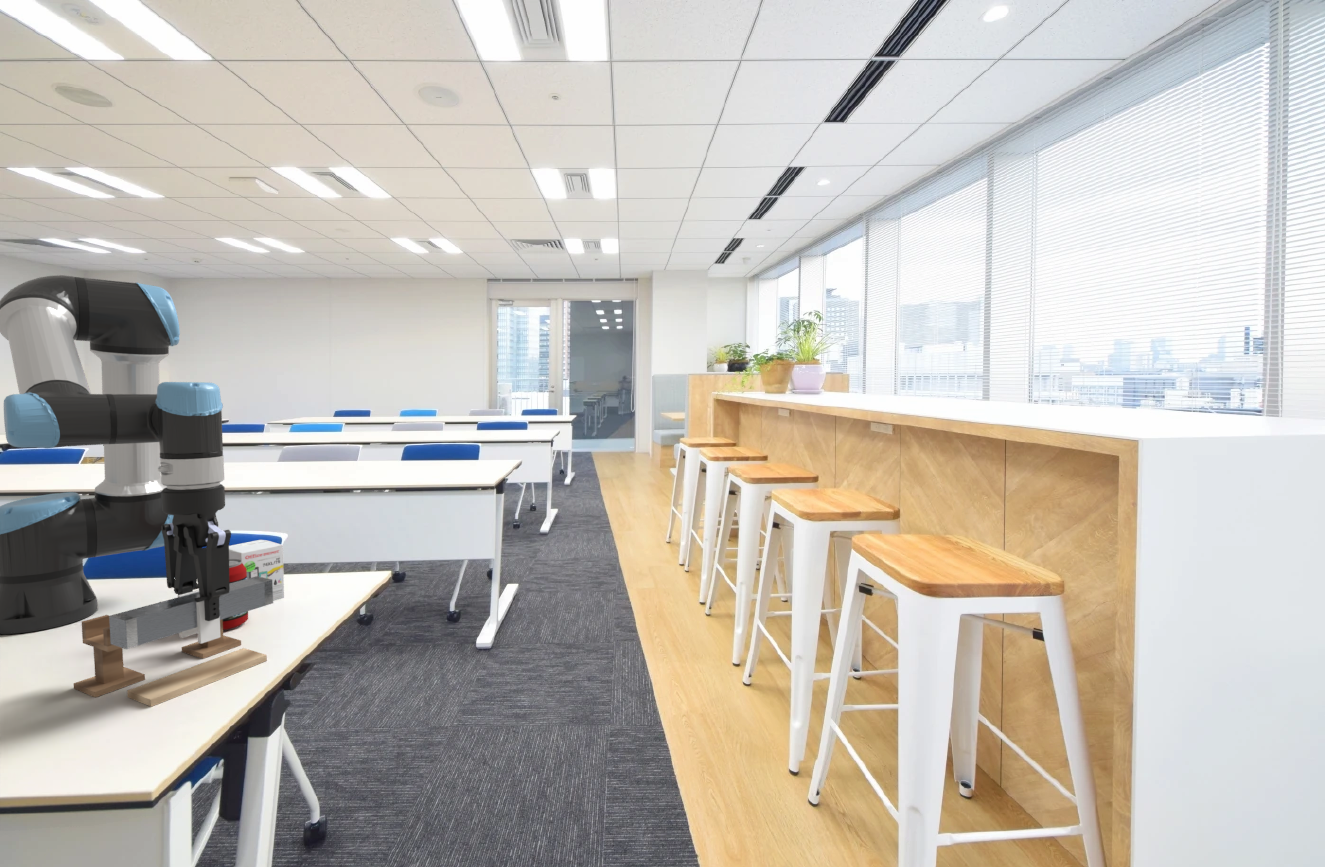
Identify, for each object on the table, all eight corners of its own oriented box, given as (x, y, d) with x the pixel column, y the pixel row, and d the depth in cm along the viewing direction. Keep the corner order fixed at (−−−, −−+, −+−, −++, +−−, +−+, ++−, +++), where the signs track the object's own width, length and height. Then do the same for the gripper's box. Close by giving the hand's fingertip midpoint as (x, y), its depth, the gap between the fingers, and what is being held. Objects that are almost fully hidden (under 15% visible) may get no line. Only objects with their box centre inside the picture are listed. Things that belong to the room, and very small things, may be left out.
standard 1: (71, 687, 89) (68, 625, 89) (121, 671, 95) (118, 611, 94) (97, 698, 87) (93, 633, 86) (146, 680, 92) (143, 619, 91)
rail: (110, 643, 84) (109, 615, 84) (257, 599, 102) (256, 576, 102) (126, 649, 82) (125, 620, 82) (273, 603, 101) (272, 579, 100)
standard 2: (179, 651, 102) (177, 596, 101) (218, 638, 108) (216, 585, 107) (204, 659, 99) (202, 602, 99) (243, 645, 105) (241, 591, 104)
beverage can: (225, 634, 109) (222, 569, 108) (194, 631, 110) (191, 566, 110) (257, 621, 116) (255, 559, 115) (227, 618, 117) (225, 556, 116)
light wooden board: (127, 697, 87) (127, 690, 87) (243, 653, 101) (243, 647, 101) (151, 706, 84) (150, 699, 84) (266, 660, 99) (266, 654, 99)
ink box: (241, 610, 121) (239, 552, 121) (219, 602, 126) (217, 546, 125) (285, 597, 129) (283, 543, 128) (263, 590, 133) (261, 538, 132)
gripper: (131, 484, 91) (139, 636, 93) (199, 493, 84) (206, 657, 86) (188, 477, 98) (194, 619, 99) (255, 486, 91) (260, 638, 92)
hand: (199, 636), depth 93 cm, fingers closed on rail, 4 cm apart
